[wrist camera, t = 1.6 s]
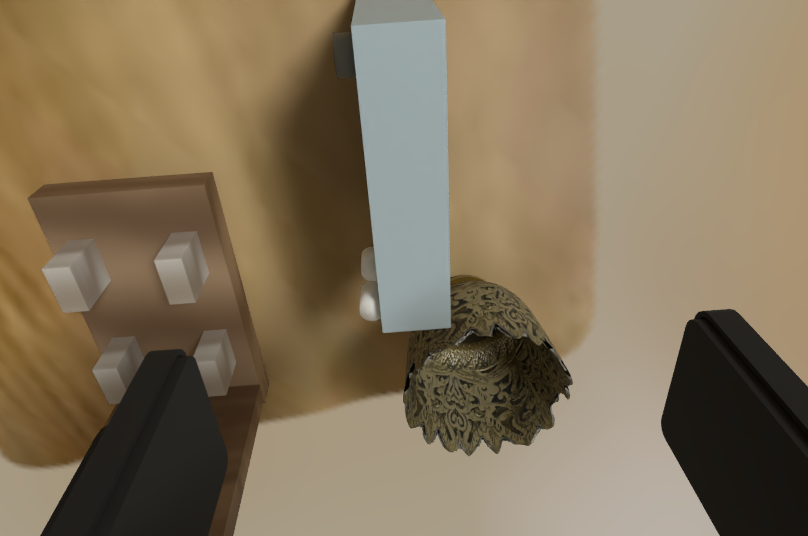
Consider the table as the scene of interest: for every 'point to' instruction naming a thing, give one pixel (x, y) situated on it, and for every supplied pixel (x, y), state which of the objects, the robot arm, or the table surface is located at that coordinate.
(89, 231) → the cabinet base
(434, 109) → the door
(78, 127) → the table surface
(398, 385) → the table surface
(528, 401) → the cup
